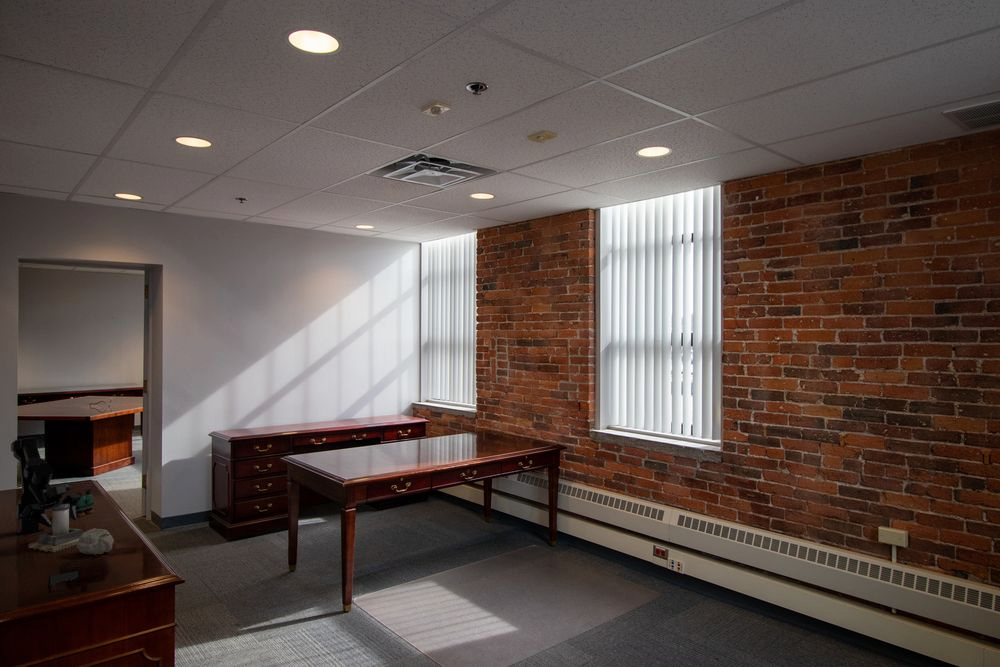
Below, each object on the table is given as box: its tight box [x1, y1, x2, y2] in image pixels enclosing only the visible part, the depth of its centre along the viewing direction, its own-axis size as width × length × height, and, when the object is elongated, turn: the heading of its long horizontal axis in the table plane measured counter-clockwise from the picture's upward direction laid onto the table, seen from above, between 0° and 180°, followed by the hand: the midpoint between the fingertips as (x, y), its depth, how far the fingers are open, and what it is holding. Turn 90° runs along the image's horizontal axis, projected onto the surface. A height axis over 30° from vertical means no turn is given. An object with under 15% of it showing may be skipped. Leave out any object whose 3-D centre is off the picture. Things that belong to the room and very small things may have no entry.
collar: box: [27, 527, 84, 553], centre depth 225 cm, size 14×14×4 cm
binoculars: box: [75, 488, 95, 517], centre depth 266 cm, size 9×11×10 cm
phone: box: [49, 571, 79, 587], centre depth 189 cm, size 7×1×15 cm
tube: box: [51, 504, 70, 536], centre depth 226 cm, size 5×5×13 cm
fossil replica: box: [76, 527, 115, 556], centre depth 216 cm, size 12×8×10 cm
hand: (63, 522), depth 225 cm, fingers open, 9 cm apart
